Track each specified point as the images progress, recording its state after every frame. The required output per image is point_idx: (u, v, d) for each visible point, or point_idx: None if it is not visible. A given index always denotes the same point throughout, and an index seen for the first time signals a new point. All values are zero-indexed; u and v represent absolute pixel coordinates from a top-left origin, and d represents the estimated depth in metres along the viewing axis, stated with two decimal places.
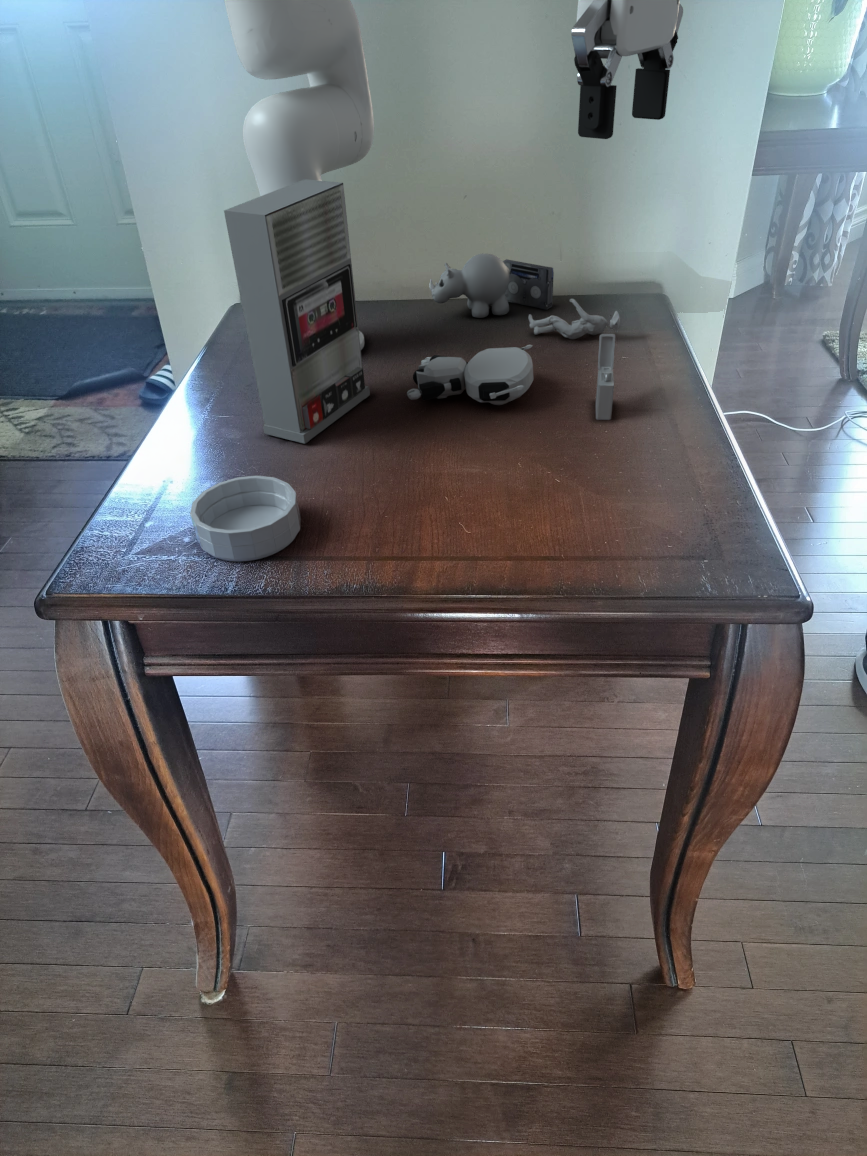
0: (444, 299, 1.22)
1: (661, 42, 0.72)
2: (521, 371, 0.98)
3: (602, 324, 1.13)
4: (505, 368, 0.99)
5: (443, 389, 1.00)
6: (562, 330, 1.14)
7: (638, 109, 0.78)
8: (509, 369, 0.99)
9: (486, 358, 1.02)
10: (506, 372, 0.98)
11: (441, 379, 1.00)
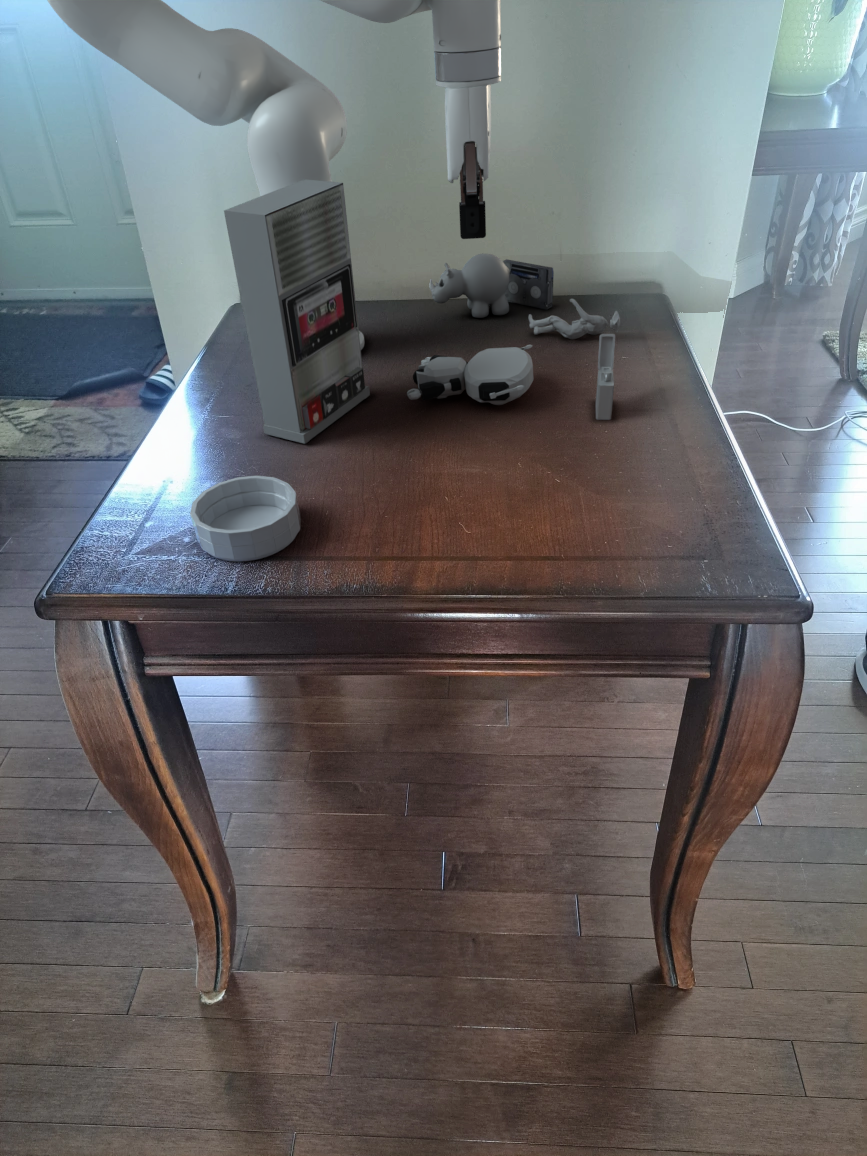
0: (444, 299, 1.22)
1: None
2: (521, 371, 0.98)
3: (602, 324, 1.13)
4: (505, 368, 0.99)
5: (443, 389, 1.00)
6: (562, 330, 1.14)
7: None
8: (509, 369, 0.99)
9: (486, 358, 1.02)
10: (506, 372, 0.98)
11: (441, 379, 1.00)
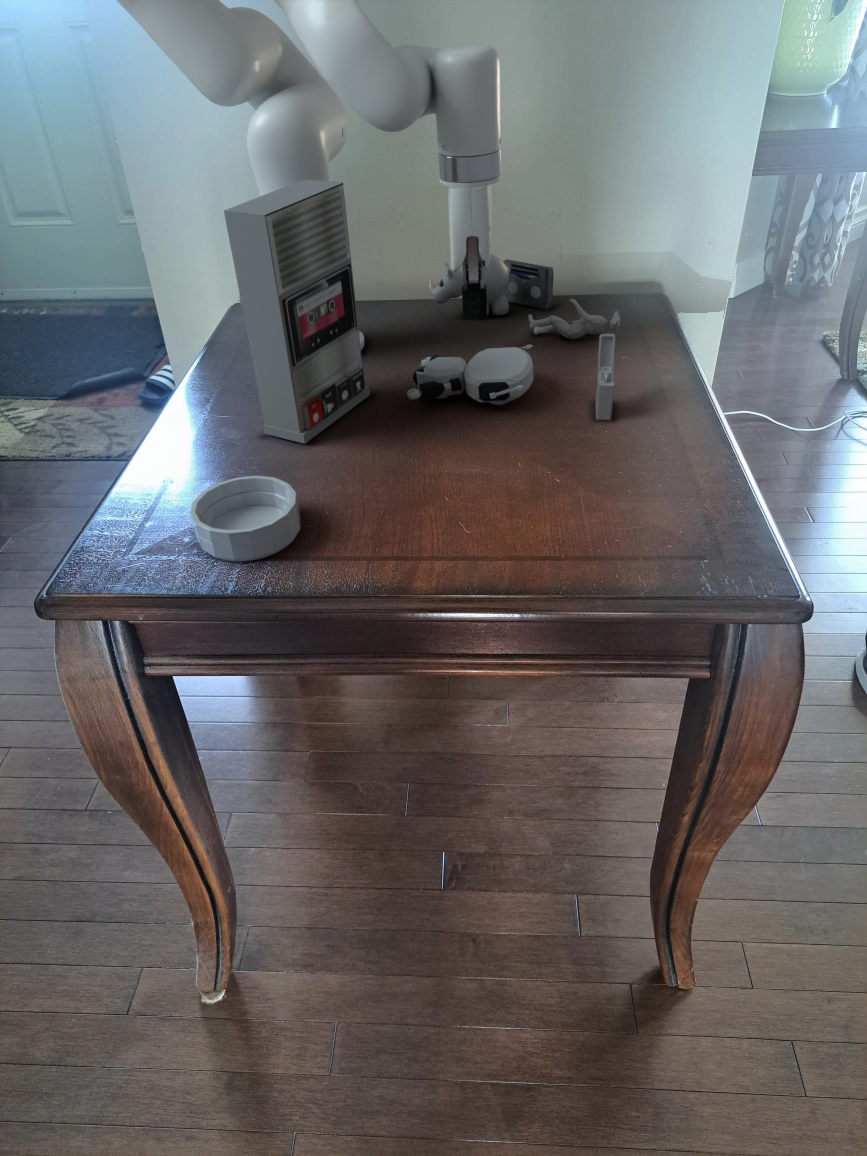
0: (444, 299, 1.22)
1: None
2: (521, 371, 0.98)
3: (602, 324, 1.13)
4: (505, 368, 0.99)
5: (443, 389, 1.00)
6: (562, 330, 1.14)
7: None
8: (509, 369, 0.99)
9: (486, 358, 1.02)
10: (506, 372, 0.98)
11: (441, 379, 1.00)
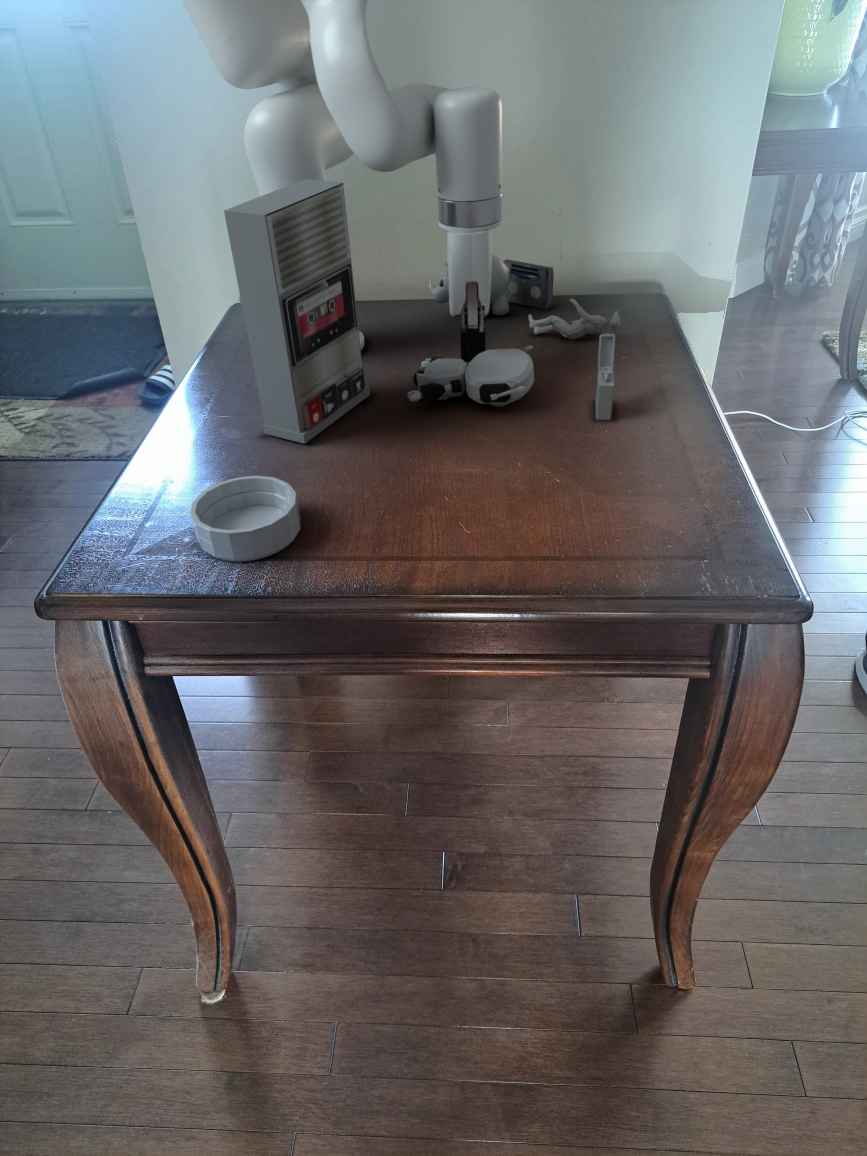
0: (444, 299, 1.22)
1: None
2: (521, 373, 0.97)
3: (602, 324, 1.13)
4: (506, 369, 0.99)
5: (444, 391, 1.00)
6: (562, 330, 1.14)
7: None
8: (510, 370, 0.98)
9: (487, 359, 1.02)
10: (507, 373, 0.98)
11: (441, 381, 1.00)
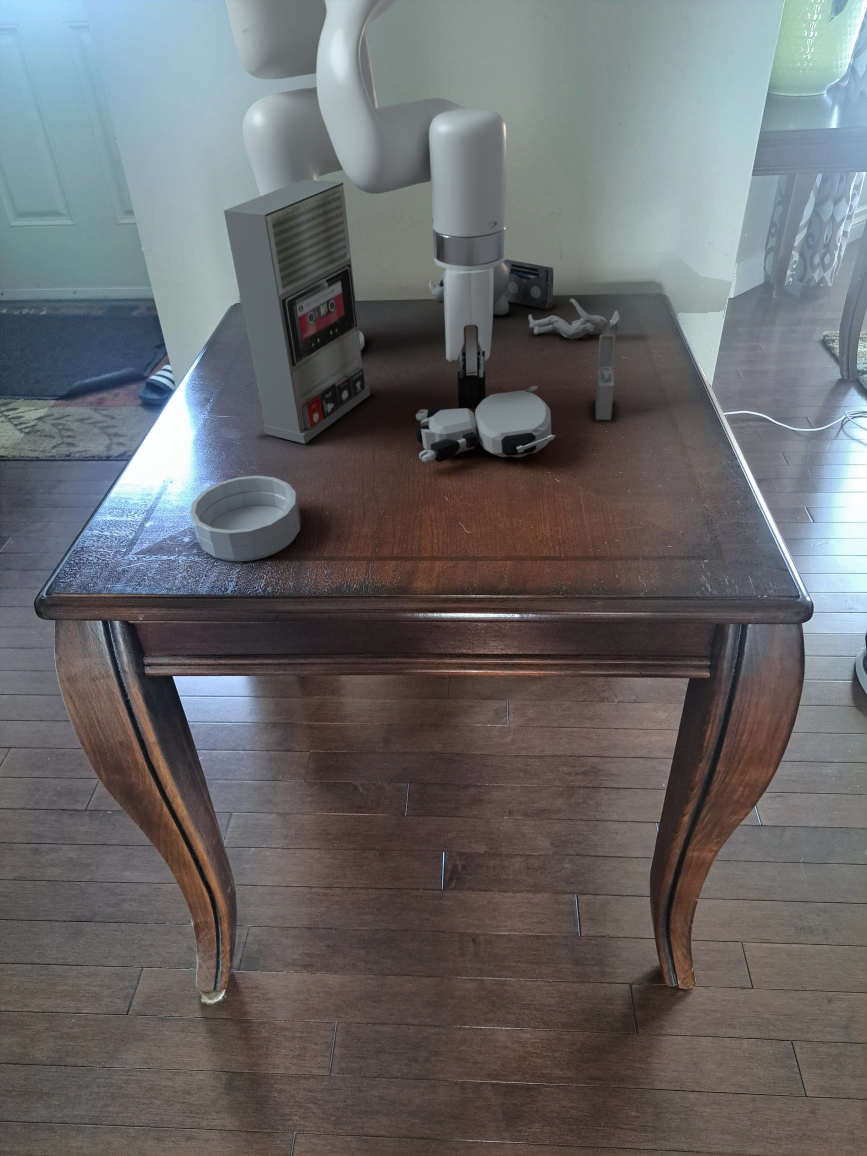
0: None
1: None
2: (544, 419, 0.88)
3: (602, 324, 1.13)
4: (524, 416, 0.89)
5: (458, 447, 0.89)
6: (562, 330, 1.14)
7: None
8: (529, 417, 0.89)
9: (496, 406, 0.92)
10: (528, 421, 0.88)
11: (453, 436, 0.89)
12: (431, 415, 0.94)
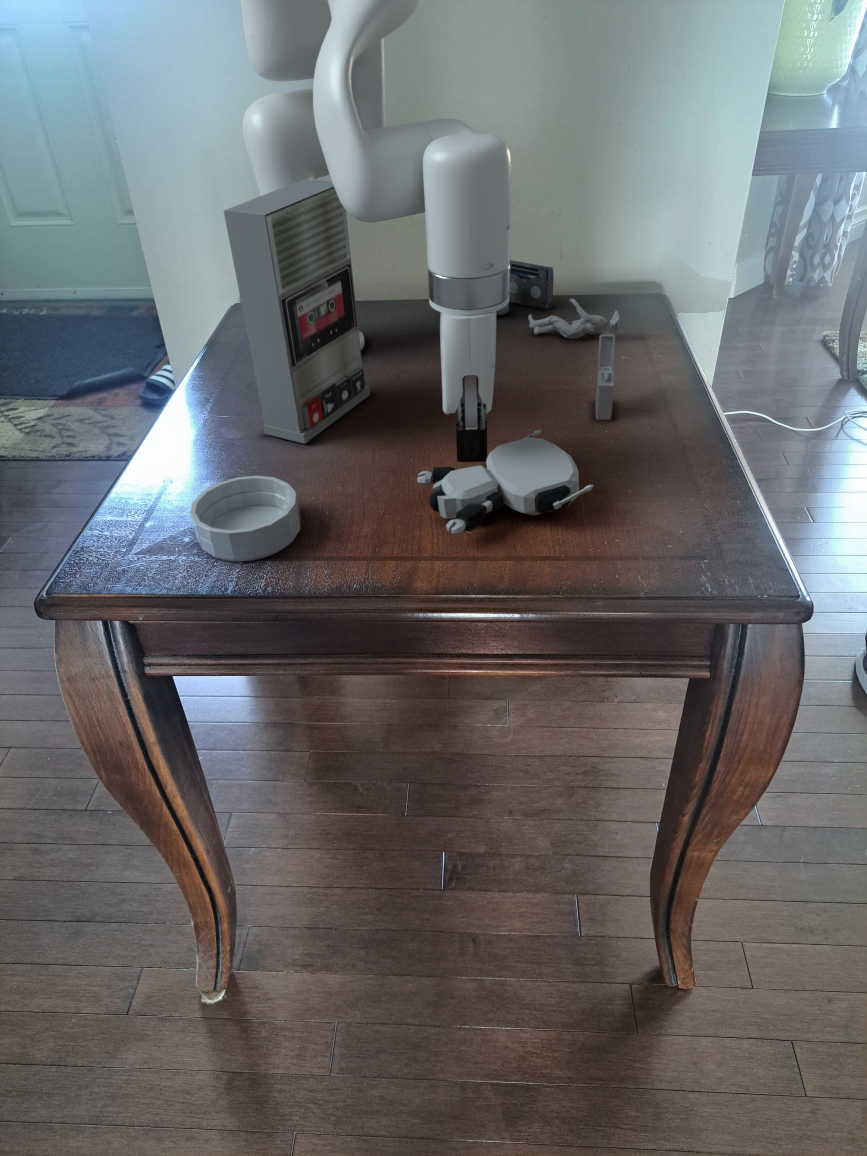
0: None
1: None
2: (572, 468, 0.80)
3: (602, 324, 1.13)
4: (548, 467, 0.80)
5: (485, 511, 0.79)
6: (562, 330, 1.14)
7: None
8: (555, 467, 0.80)
9: (510, 459, 0.82)
10: (556, 472, 0.80)
11: (477, 499, 0.79)
12: (437, 477, 0.83)
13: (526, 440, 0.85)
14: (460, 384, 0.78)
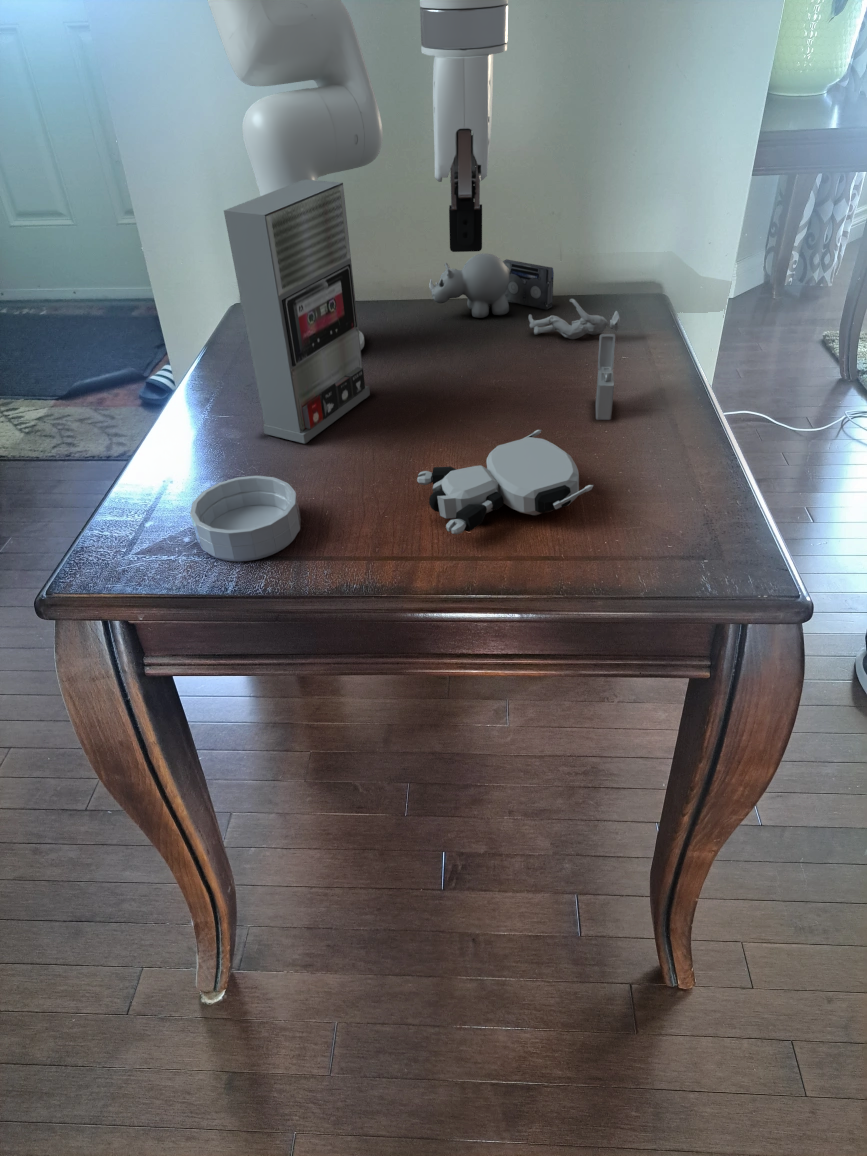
0: (444, 299, 1.22)
1: None
2: (572, 467, 0.80)
3: (602, 324, 1.13)
4: (548, 467, 0.80)
5: (485, 511, 0.79)
6: (562, 330, 1.14)
7: None
8: (555, 467, 0.80)
9: (510, 459, 0.82)
10: (556, 472, 0.79)
11: (477, 499, 0.79)
12: (437, 477, 0.83)
13: (526, 440, 0.85)
14: (453, 140, 0.72)
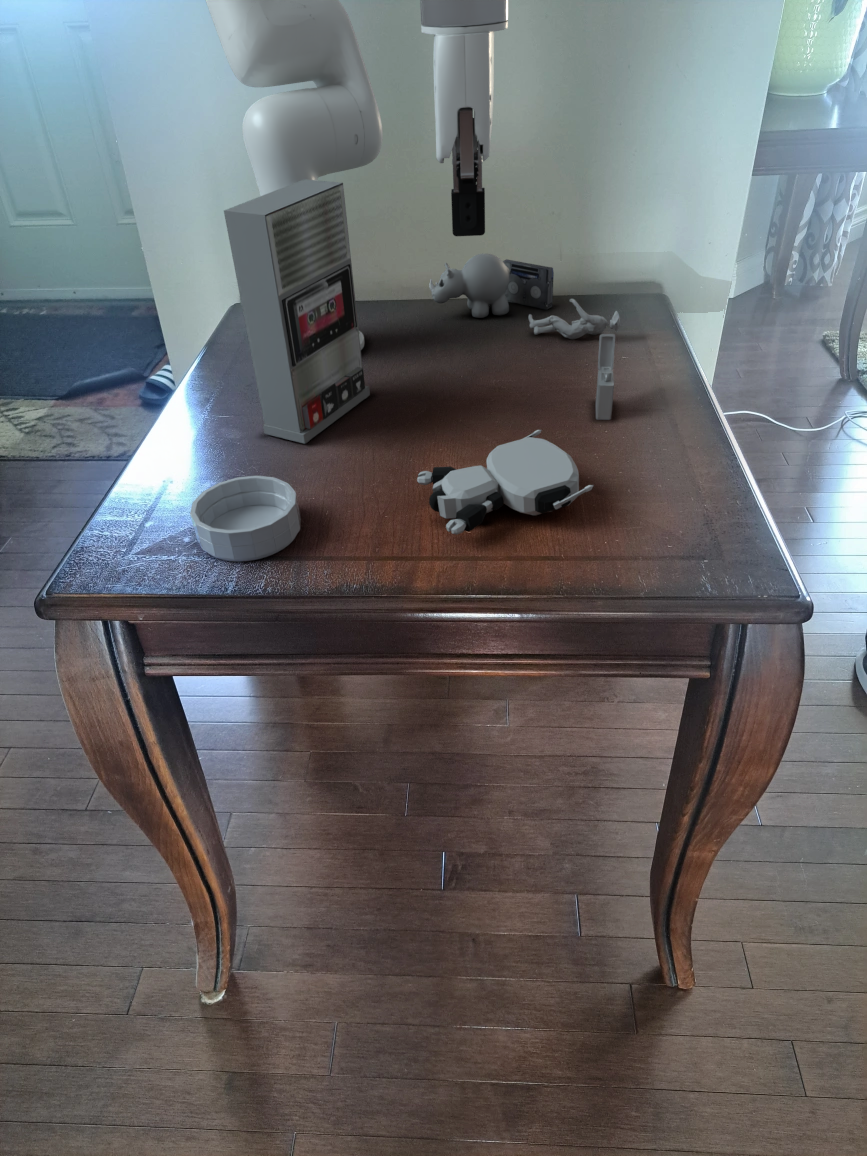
0: (444, 299, 1.22)
1: None
2: (572, 468, 0.80)
3: (602, 324, 1.13)
4: (548, 467, 0.80)
5: (485, 511, 0.79)
6: (562, 330, 1.14)
7: None
8: (555, 467, 0.80)
9: (510, 459, 0.82)
10: (556, 472, 0.79)
11: (477, 499, 0.79)
12: (437, 477, 0.83)
13: (526, 440, 0.85)
14: (455, 119, 0.72)
